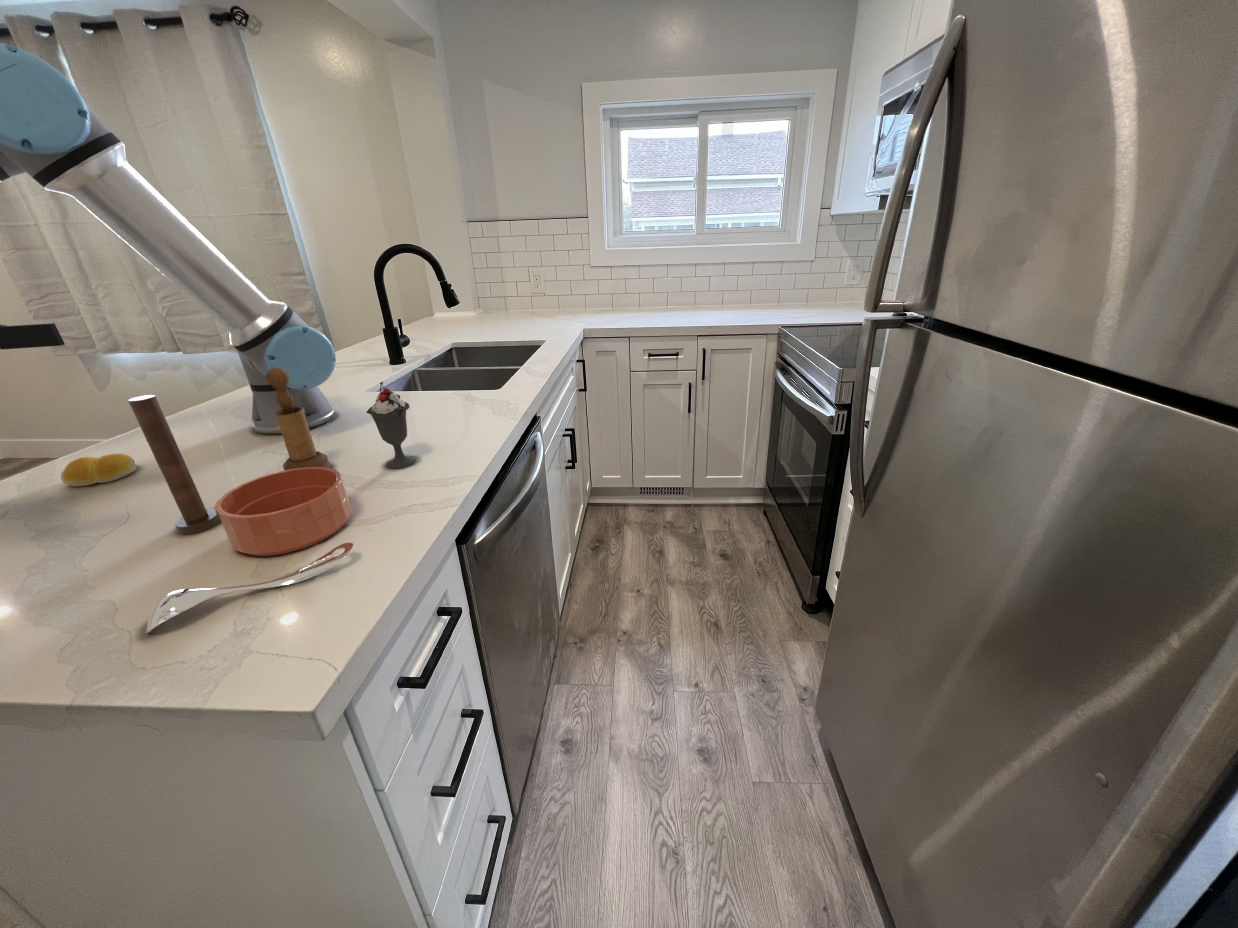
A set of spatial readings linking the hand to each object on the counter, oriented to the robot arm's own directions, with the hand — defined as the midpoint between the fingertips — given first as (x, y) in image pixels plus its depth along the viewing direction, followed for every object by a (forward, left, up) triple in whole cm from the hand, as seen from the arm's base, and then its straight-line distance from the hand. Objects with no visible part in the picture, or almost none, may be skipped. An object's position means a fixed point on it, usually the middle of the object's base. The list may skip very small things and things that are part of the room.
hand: (9, 344), depth 57 cm
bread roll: (-23, -16, -26) cm, 38 cm away
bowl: (+4, +25, -26) cm, 36 cm away
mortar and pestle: (-15, +20, -26) cm, 36 cm away
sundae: (-15, +35, -26) cm, 46 cm away
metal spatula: (+18, +26, -26) cm, 41 cm away
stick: (0, +11, -26) cm, 28 cm away
